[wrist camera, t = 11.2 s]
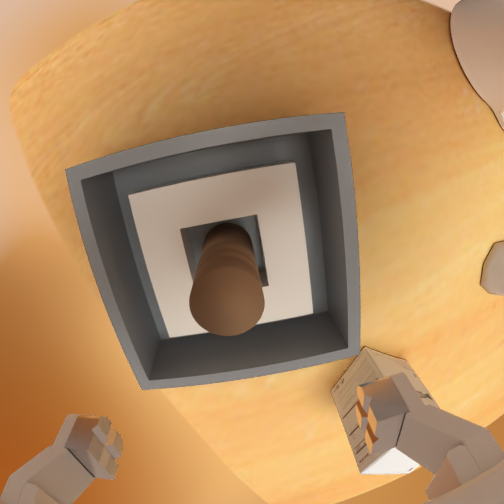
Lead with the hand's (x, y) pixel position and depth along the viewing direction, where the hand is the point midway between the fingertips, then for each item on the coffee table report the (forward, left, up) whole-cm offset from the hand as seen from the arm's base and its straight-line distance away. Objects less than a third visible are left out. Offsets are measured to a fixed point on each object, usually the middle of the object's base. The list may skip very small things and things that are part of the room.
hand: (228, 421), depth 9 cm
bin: (0, 0, -19) cm, 19 cm away
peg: (0, 0, -18) cm, 18 cm away
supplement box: (-13, +19, -20) cm, 30 cm away
